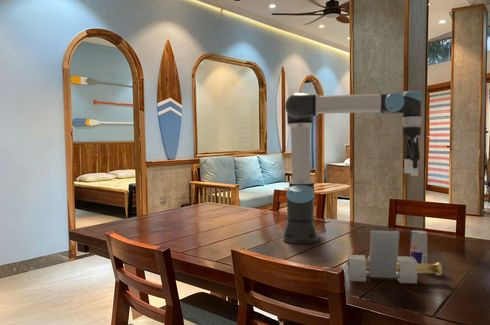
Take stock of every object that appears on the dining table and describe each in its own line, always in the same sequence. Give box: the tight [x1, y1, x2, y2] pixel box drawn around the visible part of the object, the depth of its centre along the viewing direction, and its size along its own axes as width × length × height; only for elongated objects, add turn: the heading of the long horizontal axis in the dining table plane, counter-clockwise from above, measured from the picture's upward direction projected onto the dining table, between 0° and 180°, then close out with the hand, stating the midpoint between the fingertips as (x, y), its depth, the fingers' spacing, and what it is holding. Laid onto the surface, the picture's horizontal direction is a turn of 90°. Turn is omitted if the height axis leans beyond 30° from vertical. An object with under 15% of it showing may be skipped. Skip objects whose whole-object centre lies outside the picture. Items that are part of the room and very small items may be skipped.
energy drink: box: [409, 229, 428, 264], centre depth 140 cm, size 5×5×12 cm
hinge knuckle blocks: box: [345, 254, 418, 284], centre depth 130 cm, size 20×12×7 cm, turn 81°
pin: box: [366, 261, 443, 276], centre depth 126 cm, size 22×4×4 cm, turn 81°
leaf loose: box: [366, 230, 400, 279], centre depth 125 cm, size 8×16×5 cm
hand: (411, 174), depth 180 cm, fingers open, 13 cm apart
